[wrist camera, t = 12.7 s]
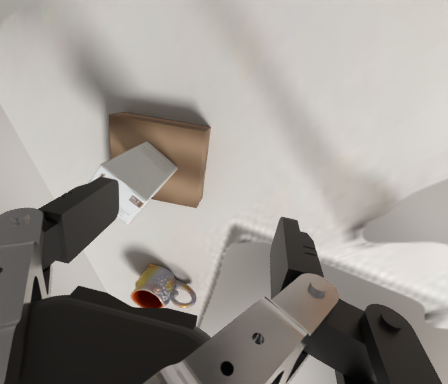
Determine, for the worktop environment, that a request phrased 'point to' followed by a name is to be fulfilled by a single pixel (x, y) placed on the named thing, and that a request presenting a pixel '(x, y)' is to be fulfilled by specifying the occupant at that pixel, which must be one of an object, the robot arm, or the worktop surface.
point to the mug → (159, 289)
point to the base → (167, 152)
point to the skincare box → (137, 177)
